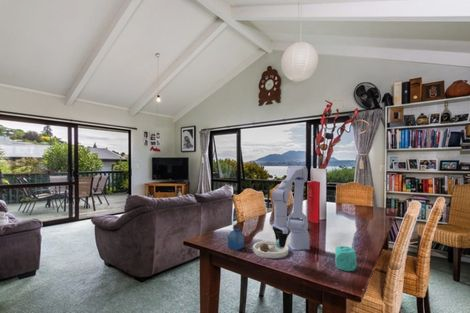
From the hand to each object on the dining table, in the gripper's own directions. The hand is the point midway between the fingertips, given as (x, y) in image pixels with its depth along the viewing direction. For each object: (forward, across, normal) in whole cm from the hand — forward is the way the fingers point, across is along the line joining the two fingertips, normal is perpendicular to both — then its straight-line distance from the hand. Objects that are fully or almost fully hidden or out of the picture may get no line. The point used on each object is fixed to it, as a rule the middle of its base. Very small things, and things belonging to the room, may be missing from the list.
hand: (280, 244), depth 114 cm
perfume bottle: (+8, -22, -18) cm, 30 cm away
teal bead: (+2, 0, 0) cm, 2 cm away
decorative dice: (+8, +8, +27) cm, 29 cm away
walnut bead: (+7, -10, -5) cm, 13 cm away
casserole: (+9, -56, +23) cm, 61 cm away
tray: (+8, -14, -1) cm, 16 cm away
